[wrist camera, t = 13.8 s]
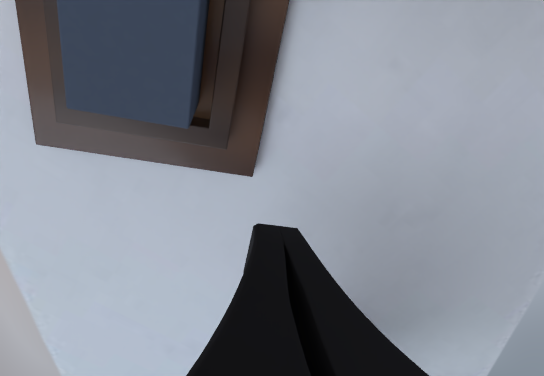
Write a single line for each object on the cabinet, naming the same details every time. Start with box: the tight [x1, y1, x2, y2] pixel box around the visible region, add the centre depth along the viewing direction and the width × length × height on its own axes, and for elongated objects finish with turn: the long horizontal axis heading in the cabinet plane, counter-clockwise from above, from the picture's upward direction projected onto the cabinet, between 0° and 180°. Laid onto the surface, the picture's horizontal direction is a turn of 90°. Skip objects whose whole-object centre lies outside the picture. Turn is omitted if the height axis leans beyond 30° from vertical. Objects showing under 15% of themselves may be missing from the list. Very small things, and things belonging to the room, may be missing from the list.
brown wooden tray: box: [15, 0, 289, 177], centre depth 14 cm, size 14×11×2 cm
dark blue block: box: [57, 0, 210, 129], centre depth 13 cm, size 7×4×4 cm, turn 168°
